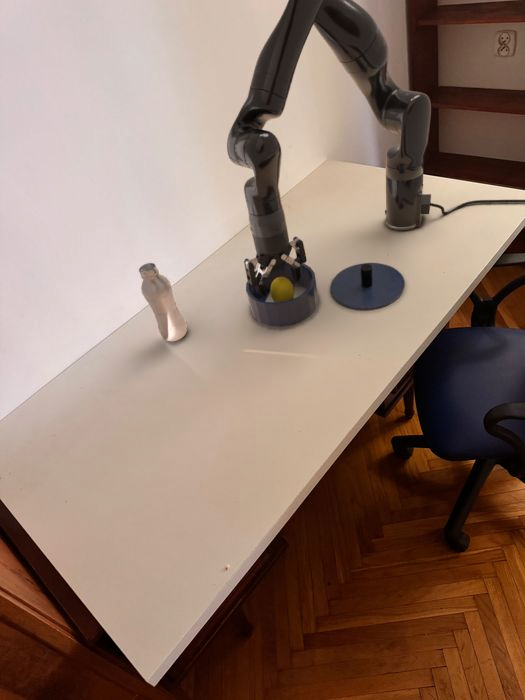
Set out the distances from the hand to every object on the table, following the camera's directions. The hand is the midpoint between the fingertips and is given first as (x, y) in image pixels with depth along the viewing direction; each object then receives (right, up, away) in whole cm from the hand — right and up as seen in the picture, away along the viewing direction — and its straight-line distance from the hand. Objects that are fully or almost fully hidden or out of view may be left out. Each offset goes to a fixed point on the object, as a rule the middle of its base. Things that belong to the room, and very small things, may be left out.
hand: (280, 287), depth 111 cm
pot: (+1, -4, +4) cm, 6 cm away
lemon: (+1, -4, +4) cm, 6 cm away
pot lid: (+21, +1, +2) cm, 21 cm away
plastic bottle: (-25, -11, +4) cm, 28 cm away
